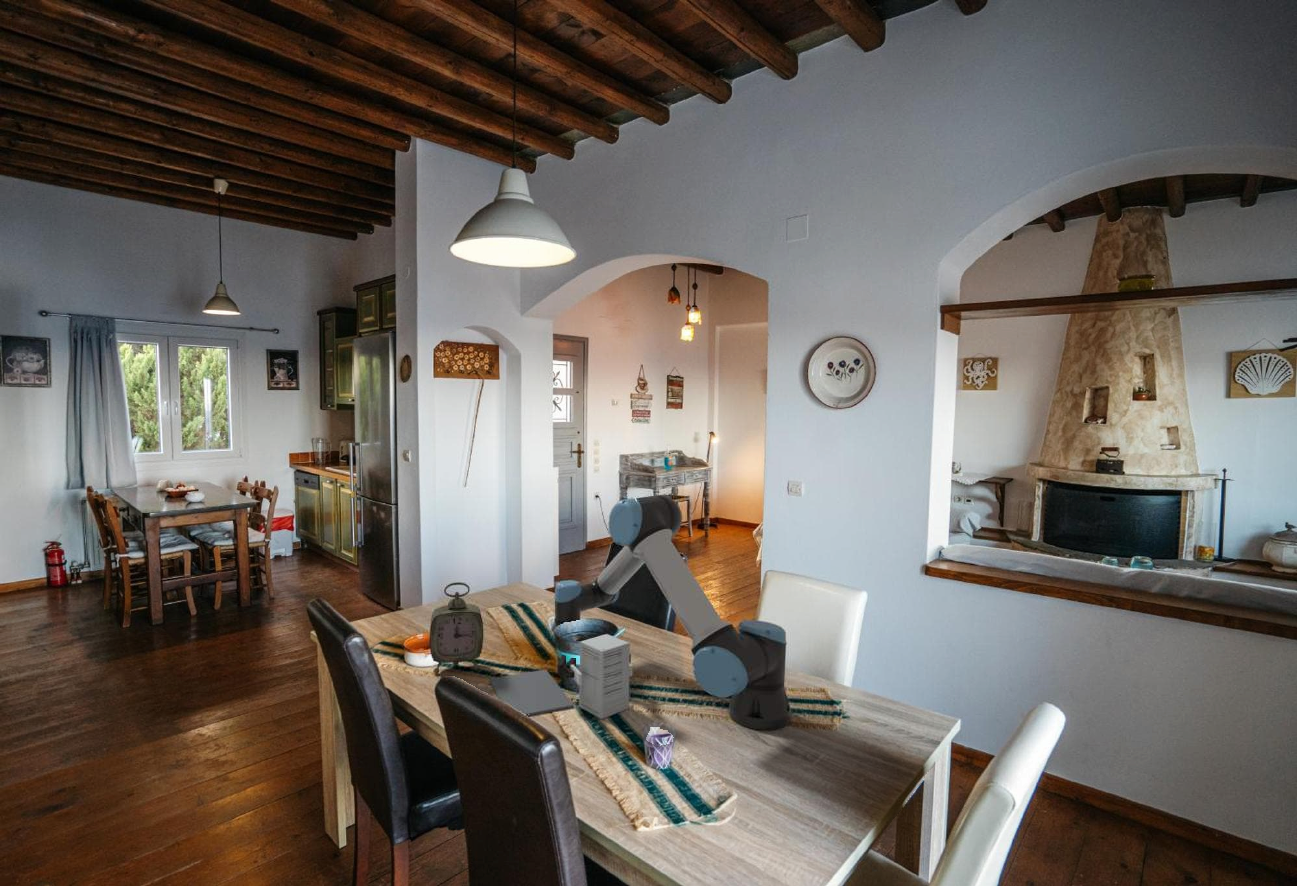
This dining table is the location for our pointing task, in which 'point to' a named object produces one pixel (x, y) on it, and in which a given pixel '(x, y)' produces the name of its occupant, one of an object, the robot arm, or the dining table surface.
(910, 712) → the dining table surface
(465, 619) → the tabletop clock
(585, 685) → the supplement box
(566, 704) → the mat
